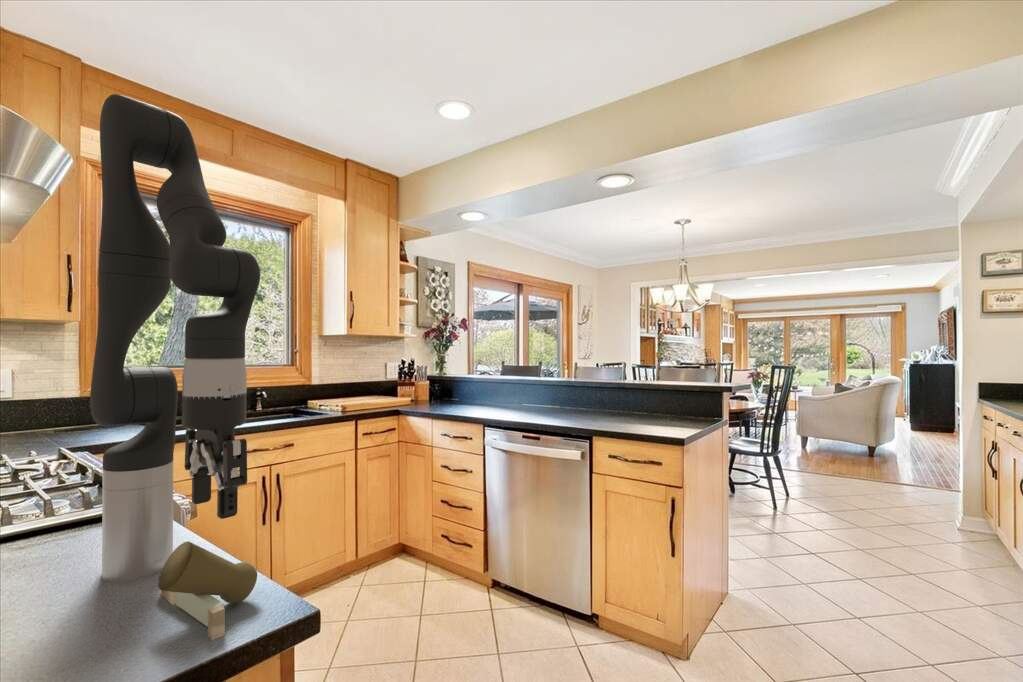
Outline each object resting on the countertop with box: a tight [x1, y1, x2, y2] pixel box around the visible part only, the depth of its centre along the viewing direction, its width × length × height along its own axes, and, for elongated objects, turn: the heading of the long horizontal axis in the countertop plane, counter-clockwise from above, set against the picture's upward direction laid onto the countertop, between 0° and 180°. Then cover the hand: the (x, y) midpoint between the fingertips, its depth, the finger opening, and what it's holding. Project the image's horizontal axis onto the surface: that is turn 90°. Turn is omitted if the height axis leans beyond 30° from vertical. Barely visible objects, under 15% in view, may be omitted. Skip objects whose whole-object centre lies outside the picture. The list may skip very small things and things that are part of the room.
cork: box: [157, 541, 258, 604], centre depth 66 cm, size 6×6×11 cm
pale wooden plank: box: [160, 590, 226, 641], centre depth 65 cm, size 18×1×4 cm, turn 52°
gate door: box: [175, 592, 225, 628], centre depth 65 cm, size 11×1×3 cm, turn 56°
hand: (213, 509), depth 66 cm, fingers open, 8 cm apart
